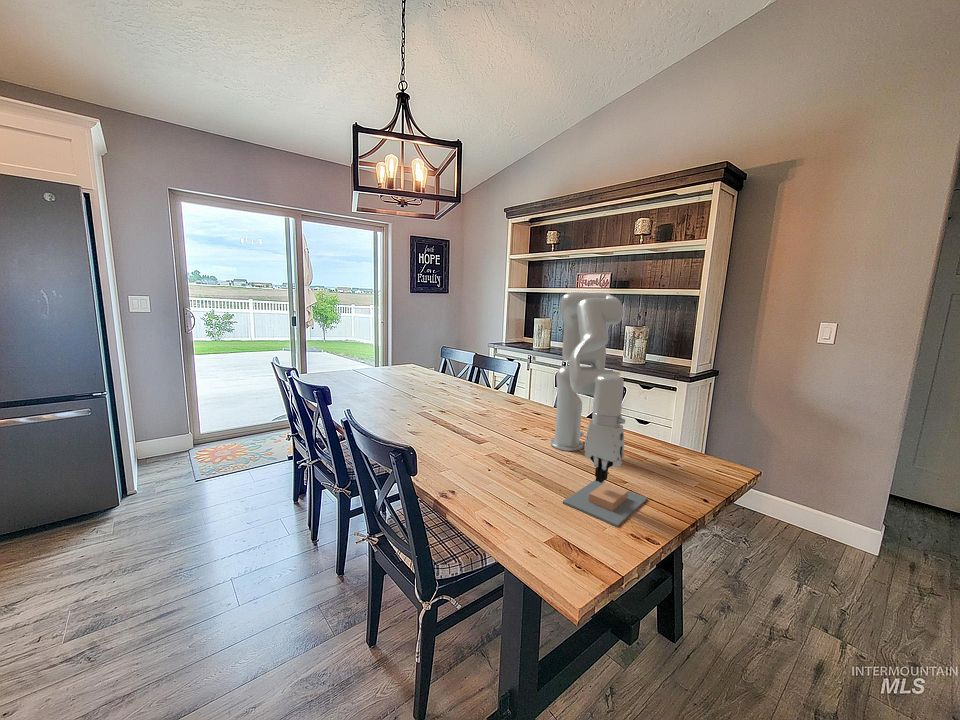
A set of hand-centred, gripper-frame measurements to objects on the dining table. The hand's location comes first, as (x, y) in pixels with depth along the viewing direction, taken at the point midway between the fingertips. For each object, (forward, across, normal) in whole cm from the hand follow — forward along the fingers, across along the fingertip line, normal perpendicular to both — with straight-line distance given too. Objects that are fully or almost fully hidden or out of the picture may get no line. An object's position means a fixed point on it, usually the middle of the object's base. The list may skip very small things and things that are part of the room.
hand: (600, 480), depth 112 cm
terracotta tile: (+4, +1, 0) cm, 4 cm away
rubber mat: (+6, -2, 0) cm, 6 cm away
